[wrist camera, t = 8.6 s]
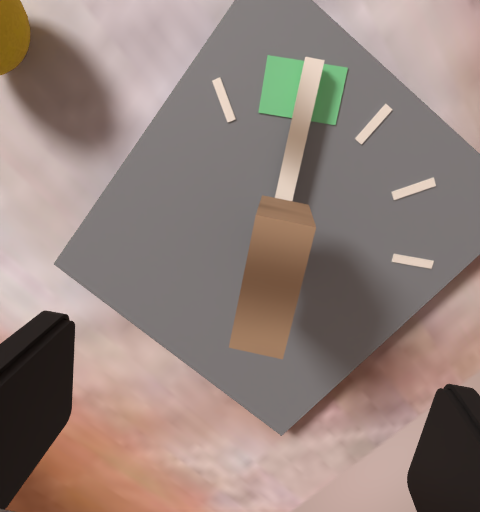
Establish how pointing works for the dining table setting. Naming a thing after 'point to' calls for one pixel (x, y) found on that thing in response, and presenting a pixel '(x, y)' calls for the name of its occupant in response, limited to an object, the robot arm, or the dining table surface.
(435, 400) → the robot arm
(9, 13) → the lemon
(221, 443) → the dining table surface
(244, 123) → the board
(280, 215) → the wooden block with handle
